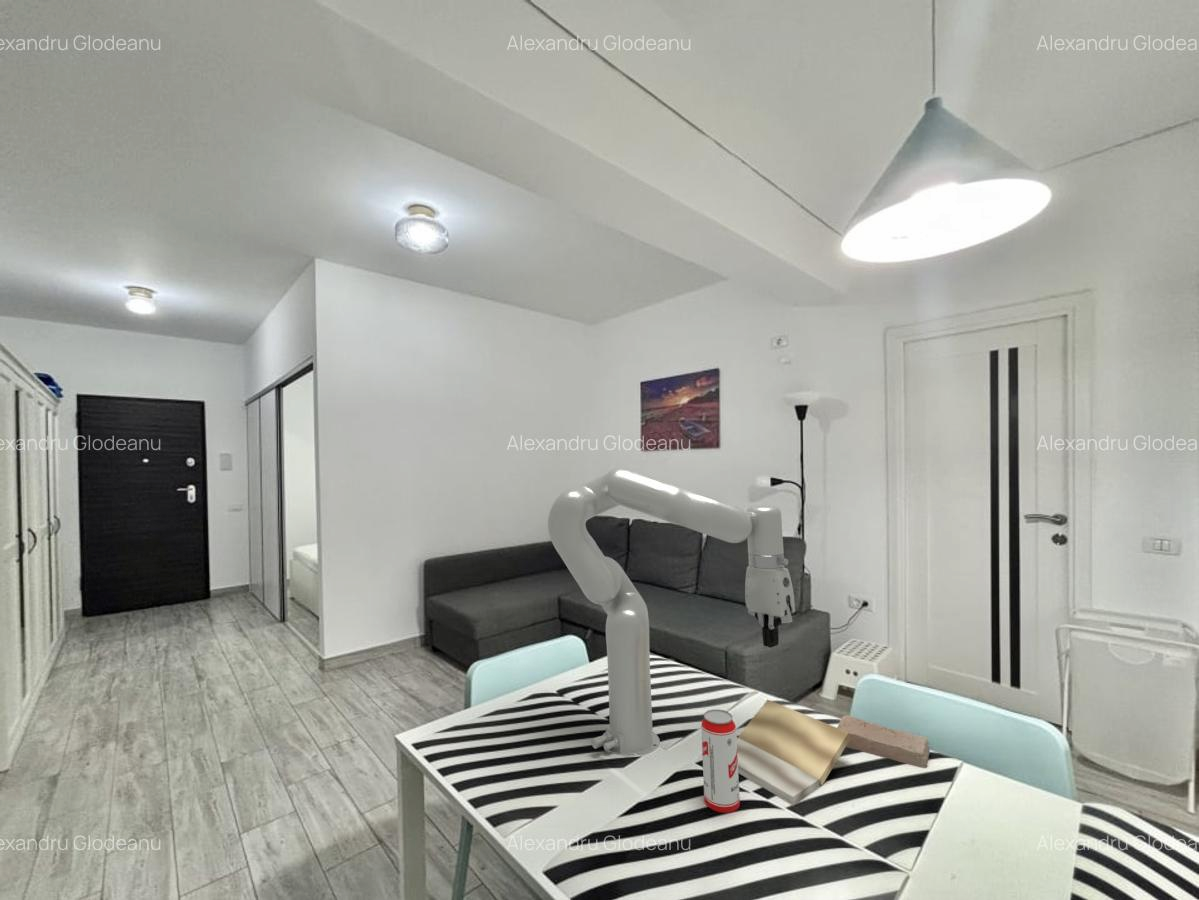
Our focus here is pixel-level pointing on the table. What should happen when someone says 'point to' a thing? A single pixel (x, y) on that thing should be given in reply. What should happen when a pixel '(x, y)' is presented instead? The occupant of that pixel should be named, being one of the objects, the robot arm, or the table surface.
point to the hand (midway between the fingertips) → (771, 645)
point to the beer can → (720, 761)
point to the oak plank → (796, 739)
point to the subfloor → (774, 773)
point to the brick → (886, 742)
